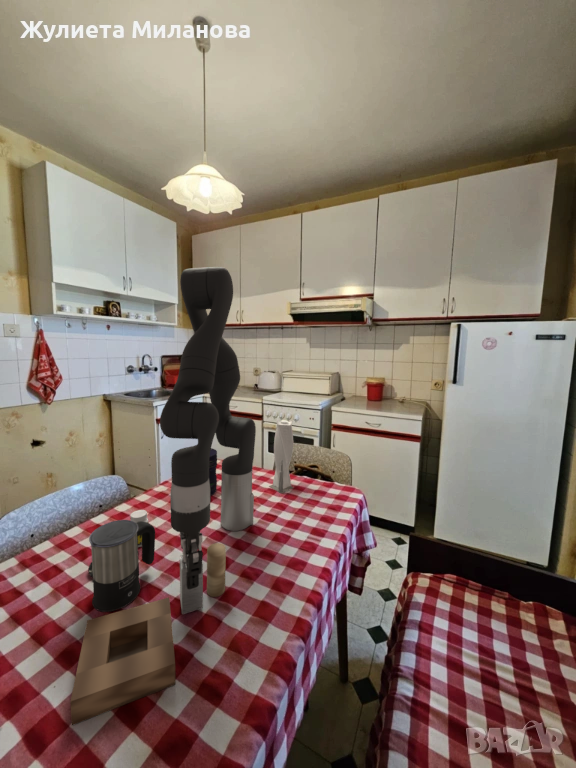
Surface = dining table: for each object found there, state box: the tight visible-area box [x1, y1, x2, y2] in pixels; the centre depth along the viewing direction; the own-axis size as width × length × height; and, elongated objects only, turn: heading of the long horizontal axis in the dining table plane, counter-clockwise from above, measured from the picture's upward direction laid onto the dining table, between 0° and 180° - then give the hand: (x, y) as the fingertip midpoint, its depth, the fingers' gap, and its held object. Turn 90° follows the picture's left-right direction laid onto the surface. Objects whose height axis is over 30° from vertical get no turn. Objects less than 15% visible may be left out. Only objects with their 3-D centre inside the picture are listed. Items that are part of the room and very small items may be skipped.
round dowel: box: [206, 542, 227, 598], centre depth 69 cm, size 4×4×10 cm
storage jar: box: [209, 447, 218, 497], centre depth 114 cm, size 10×10×15 cm
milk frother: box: [87, 519, 156, 613], centre depth 69 cm, size 14×16×15 cm
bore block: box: [69, 596, 176, 726], centre depth 53 cm, size 14×14×4 cm
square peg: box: [179, 554, 204, 615], centre depth 64 cm, size 4×4×10 cm
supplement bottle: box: [130, 509, 149, 548], centre depth 84 cm, size 5×5×8 cm
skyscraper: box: [268, 415, 295, 494], centre depth 120 cm, size 8×8×28 cm
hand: (191, 578), depth 64 cm, fingers closed on square peg, 4 cm apart
